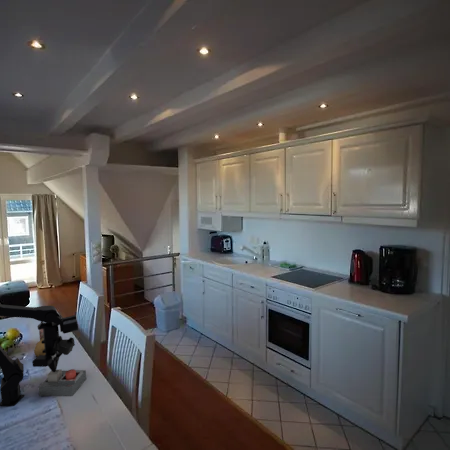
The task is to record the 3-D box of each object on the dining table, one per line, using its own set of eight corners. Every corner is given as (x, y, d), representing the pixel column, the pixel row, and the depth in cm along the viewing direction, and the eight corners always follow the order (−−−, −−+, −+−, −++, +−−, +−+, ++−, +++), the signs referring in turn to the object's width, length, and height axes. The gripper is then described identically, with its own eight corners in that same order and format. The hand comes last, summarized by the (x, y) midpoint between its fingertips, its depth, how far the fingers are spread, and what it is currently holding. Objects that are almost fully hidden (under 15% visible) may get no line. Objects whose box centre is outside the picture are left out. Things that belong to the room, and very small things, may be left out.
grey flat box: (72, 395, 130) (71, 384, 129) (39, 396, 130) (38, 384, 130) (86, 378, 141) (85, 368, 141) (55, 379, 142) (54, 368, 142)
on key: (57, 385, 134) (56, 374, 133) (48, 385, 134) (47, 374, 133) (62, 380, 138) (61, 369, 137) (53, 380, 138) (52, 369, 137)
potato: (53, 348, 172) (52, 334, 171) (58, 358, 161) (57, 343, 160) (32, 354, 166) (31, 339, 165) (36, 365, 155) (34, 349, 154)
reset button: (73, 385, 133) (72, 374, 133) (64, 385, 134) (63, 374, 133) (78, 379, 137) (77, 369, 137) (69, 379, 138) (68, 369, 137)
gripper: (57, 346, 124) (60, 384, 126) (80, 326, 143) (83, 360, 144) (30, 346, 125) (33, 384, 126) (56, 327, 143) (59, 360, 145)
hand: (54, 371), depth 135 cm, fingers closed
